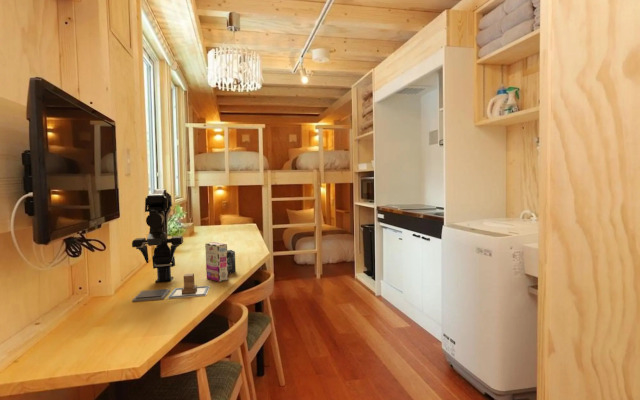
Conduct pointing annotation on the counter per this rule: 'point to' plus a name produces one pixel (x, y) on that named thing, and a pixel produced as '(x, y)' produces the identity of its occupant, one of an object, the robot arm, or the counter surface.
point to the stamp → (189, 284)
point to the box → (231, 261)
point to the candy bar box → (216, 261)
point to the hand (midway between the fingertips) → (159, 262)
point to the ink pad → (151, 295)
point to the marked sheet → (178, 294)
